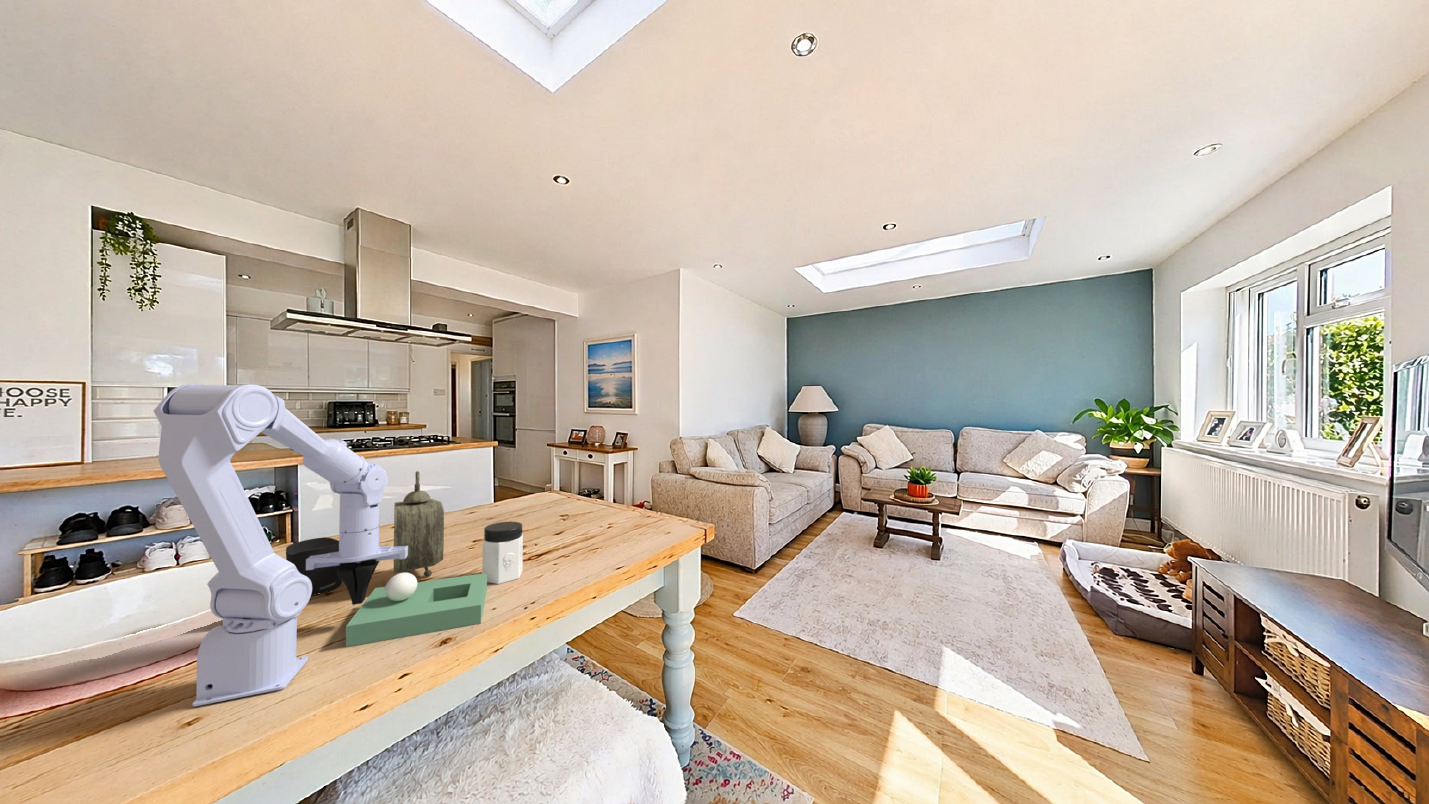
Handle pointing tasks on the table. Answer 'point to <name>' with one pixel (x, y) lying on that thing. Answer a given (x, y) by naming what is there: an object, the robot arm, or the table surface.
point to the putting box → (419, 610)
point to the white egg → (401, 586)
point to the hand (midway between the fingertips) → (358, 602)
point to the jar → (502, 552)
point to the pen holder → (319, 577)
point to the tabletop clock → (419, 531)
